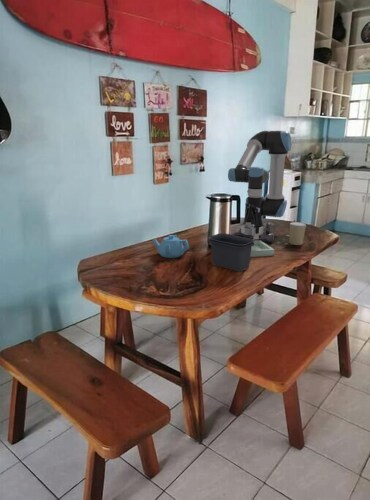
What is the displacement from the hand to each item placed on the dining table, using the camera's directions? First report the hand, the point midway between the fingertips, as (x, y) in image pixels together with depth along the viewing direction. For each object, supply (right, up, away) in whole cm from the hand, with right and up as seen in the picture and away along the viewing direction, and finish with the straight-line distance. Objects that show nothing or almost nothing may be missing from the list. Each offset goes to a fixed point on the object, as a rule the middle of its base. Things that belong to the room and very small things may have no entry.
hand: (251, 236), depth 203 cm
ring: (0, +2, -1) cm, 2 cm away
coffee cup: (+30, -4, +19) cm, 36 cm away
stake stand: (+13, -2, +21) cm, 25 cm away
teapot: (-44, -10, -5) cm, 46 cm away
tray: (0, -8, +3) cm, 9 cm away
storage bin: (-14, -16, -21) cm, 29 cm away
